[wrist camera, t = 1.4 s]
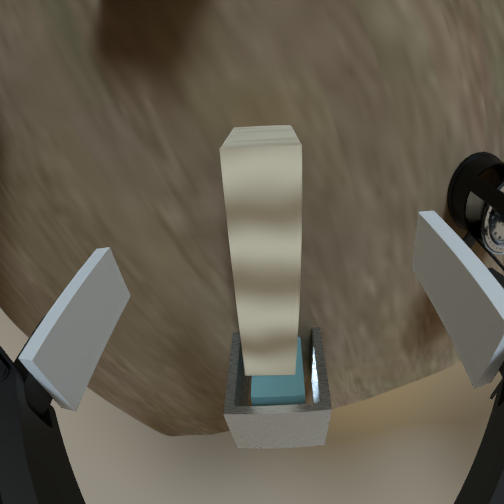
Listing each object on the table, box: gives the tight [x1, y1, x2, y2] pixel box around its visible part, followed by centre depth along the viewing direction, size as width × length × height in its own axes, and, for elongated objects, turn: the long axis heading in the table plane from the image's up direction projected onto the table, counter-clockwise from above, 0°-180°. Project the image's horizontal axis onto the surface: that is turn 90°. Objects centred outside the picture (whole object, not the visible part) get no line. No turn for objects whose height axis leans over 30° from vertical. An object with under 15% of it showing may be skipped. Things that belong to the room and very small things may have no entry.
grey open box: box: [223, 328, 332, 449], centre depth 36 cm, size 10×11×12 cm
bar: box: [220, 125, 302, 376], centre depth 28 cm, size 22×5×9 cm, turn 3°
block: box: [251, 337, 305, 406], centre depth 37 cm, size 6×6×9 cm
